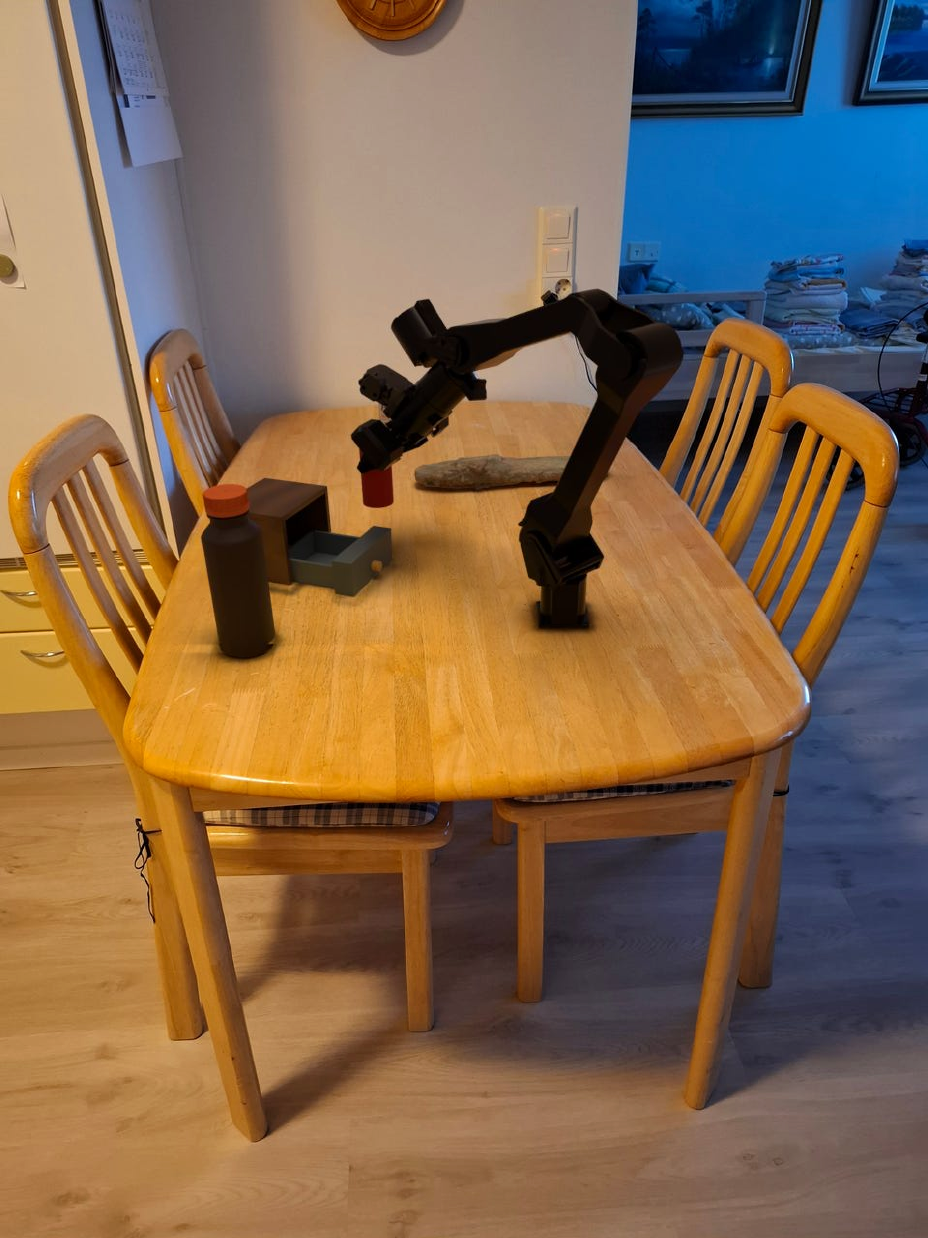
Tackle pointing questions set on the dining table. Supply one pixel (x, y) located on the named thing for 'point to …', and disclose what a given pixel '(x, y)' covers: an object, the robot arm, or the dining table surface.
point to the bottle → (237, 573)
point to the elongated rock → (490, 471)
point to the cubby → (286, 519)
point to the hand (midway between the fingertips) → (367, 465)
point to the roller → (377, 487)
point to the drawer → (341, 559)
